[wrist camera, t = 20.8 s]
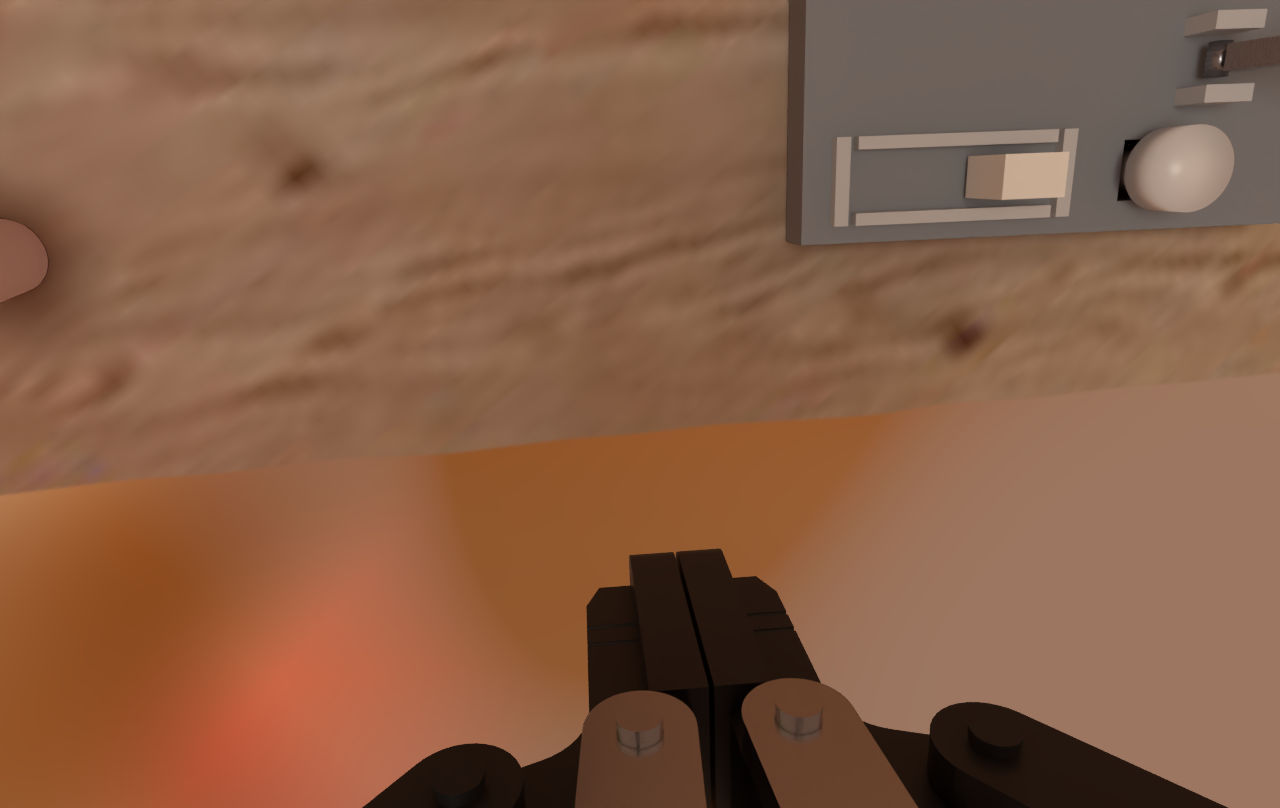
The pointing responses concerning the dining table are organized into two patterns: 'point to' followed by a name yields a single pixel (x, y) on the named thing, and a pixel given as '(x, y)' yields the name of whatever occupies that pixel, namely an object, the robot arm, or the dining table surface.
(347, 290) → the dining table surface
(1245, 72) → the panel
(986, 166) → the slider knob
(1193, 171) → the push button
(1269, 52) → the toggle lever
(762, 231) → the dining table surface
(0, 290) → the smoothie
